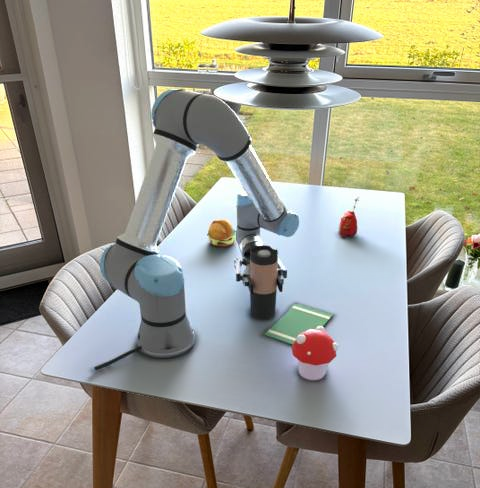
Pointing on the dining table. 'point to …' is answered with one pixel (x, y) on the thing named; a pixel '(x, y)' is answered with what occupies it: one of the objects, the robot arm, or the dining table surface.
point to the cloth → (297, 323)
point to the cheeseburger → (221, 233)
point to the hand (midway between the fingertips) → (266, 288)
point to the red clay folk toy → (348, 224)
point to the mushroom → (314, 353)
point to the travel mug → (263, 281)
